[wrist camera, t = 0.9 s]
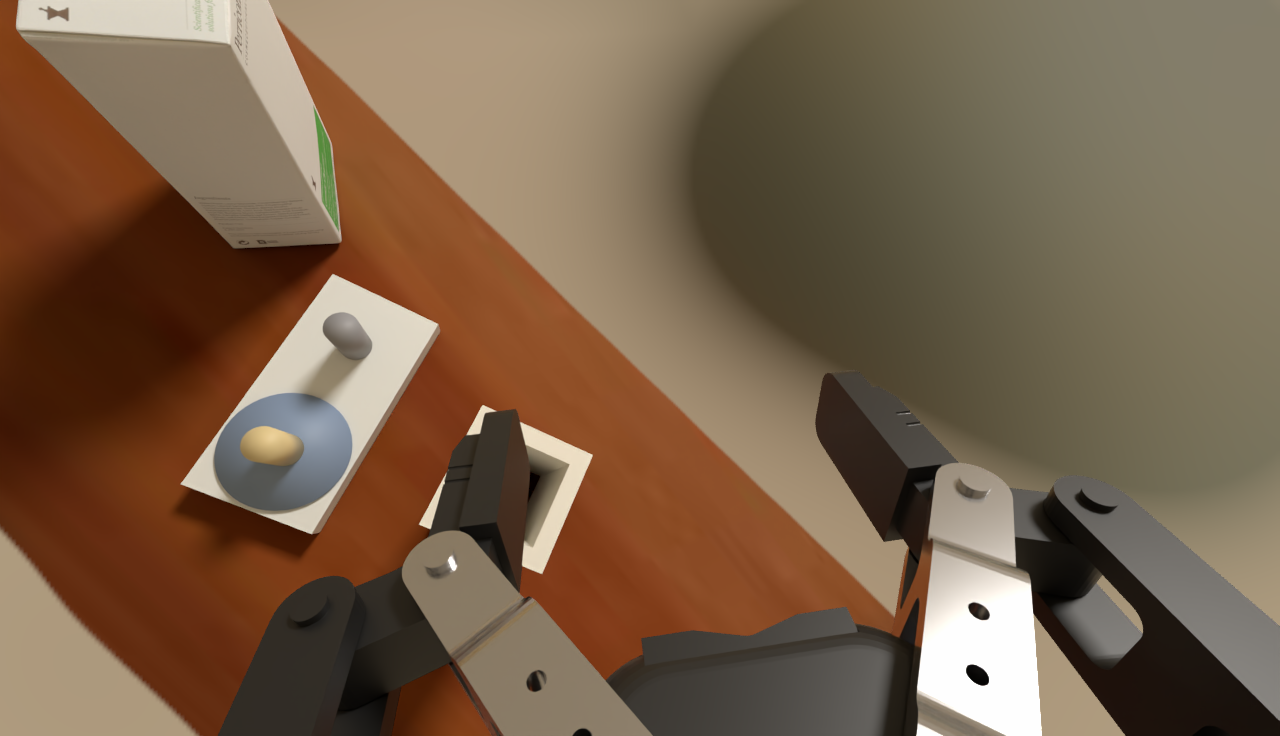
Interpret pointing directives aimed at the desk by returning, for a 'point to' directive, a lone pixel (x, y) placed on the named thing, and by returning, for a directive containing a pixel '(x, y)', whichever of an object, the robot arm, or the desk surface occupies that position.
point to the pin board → (316, 408)
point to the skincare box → (203, 107)
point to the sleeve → (539, 490)
